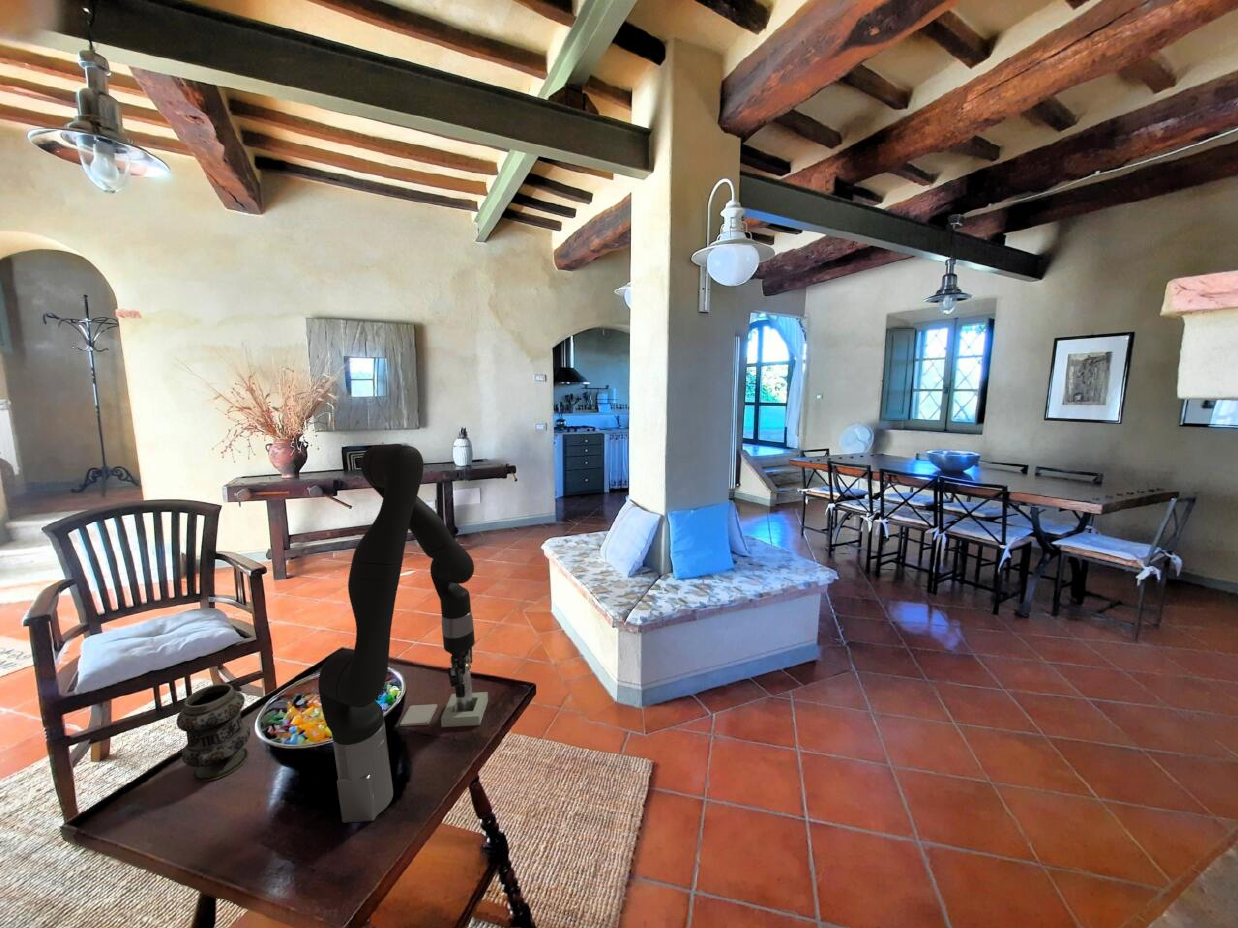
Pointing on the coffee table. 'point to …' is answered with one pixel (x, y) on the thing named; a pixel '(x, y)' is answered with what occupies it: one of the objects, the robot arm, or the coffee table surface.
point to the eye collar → (464, 718)
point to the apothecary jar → (214, 732)
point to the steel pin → (466, 693)
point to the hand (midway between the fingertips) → (463, 689)
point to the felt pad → (418, 715)
